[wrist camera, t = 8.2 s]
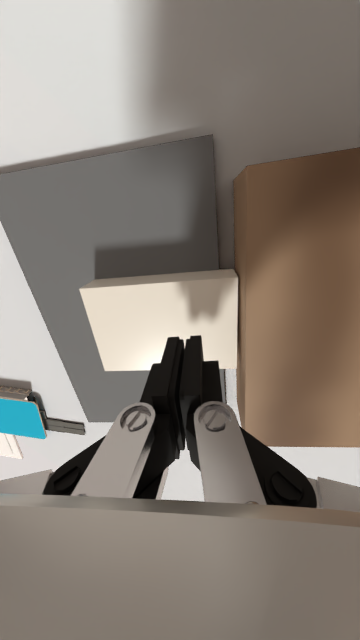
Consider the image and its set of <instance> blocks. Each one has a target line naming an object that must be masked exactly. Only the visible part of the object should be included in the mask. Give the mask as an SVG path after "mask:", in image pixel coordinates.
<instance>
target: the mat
mask: <svg viewBox="0 0 360 640" xmlns="http://www.w3.org/2000/svg"><path fill="white" fill-rule="evenodd" d="M0 221H1V223H2V226H3V228H4V230H5V232H6V235H7V237H8V239H9V242H10V244H11V246H12V248H13V251H14V253H15V255H16V258H17V260H18V262H19V264H20V267H21V269H22V271H23V273H24V276H25V278H26V280H27V283H28V285H29V287H30V289H31V292H32V294H33V296H34V299H35V301H36V303H37V305H38V308H39V310H40V312H41V315H42V317H43V319H44V321H45V324H46V326H47V328H48V331H49V333H50V335H51V337H52V340H53V342H54V344H55V347H56V349H57V351H58V353H59V356H60V358H61V360H62V363H63V365H64V367H65V369H66V372H67V374H68V376H69V379H70V381H71V383H72V385H73V388H74V390H75V392H76V395H77V397H78V399H79V401H80V404H81V406H82V408H83V411H84V413H85V415H86V417H87V420H88V422H114V421H115V420H116V418H117V416H118V415H119V414H120V412H121V411H122V410H123V409H124V408H126V407H127V406H129V405H131V404H134V403H139V402H140V399H141V396H142V393H143V390H144V387H145V384H146V381H147V378H148V375H149V372H150V370H138V371H105V370H104V367H103V363H102V360H101V357H100V354H99V351H98V347H97V344H96V341H95V338H94V335H93V332H92V328H91V325H90V322H89V319H88V316H87V312H86V309H85V306H84V303H83V300H82V296H81V293H80V290H79V289H80V288H81V287H83V286H85V285H86V284H88V283H90V282H91V281H93V280H95V279H108V278H121V277H134V276H146V275H159V274H172V273H185V272H198V271H211V270H219V259H218V238H217V217H216V196H215V175H214V153H213V134H212V135H207V136H201V137H196V138H191V139H185V140H180V141H175V142H169V143H164V144H159V145H153V146H148V147H143V148H137V149H132V150H127V151H121V152H116V153H111V154H105V155H100V156H95V157H89V158H84V159H79V160H73V161H68V162H63V163H57V164H52V165H47V166H41V167H36V168H31V169H25V170H20V171H15V172H9V173H4V174H0ZM219 370H220V380H221V389H222V399H223V403H225V387H224V369H219Z"/></svg>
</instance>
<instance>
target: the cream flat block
mask: <svg viewBox="0 0 360 640" xmlns="http://www.w3.org/2000/svg"><path fill="white" fill-rule="evenodd" d="M79 290H80V293H81V296H82V300H83V303H84V306H85V309H86V312H87V316H88V319H89V322H90V325H91V328H92V332H93V335H94V338H95V341H96V344H97V347H98V351H99V354H100V357H101V360H102V363H103V367H104V370H105V371H138V370H150V369H151V366H152V364H153V363H161V360H162V356H163V353H164V349H165V346H166V342H167V338H168V337H179V338H180V339H183V340H184V347H185V344H186V339H190V336H196V335H201V337H202V347H203V358H204V361H219V369H237V316H238V276H237V274H236V273H235V271H234V269H223V270H211V271H198V272H185V273H172V274H159V275H146V276H134V277H121V278H108V279H95V280H93V281H91V282H90V283H88V284H86V285H85V286H83V287H81V288H80V289H79Z"/></svg>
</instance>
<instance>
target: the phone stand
mask: <svg viewBox="0 0 360 640" xmlns="http://www.w3.org/2000/svg"><path fill="white" fill-rule="evenodd" d="M31 391H32V390H30V389H29V390H25V389H21V388H20V389H18V388H12V387H3V386H0V456H7V457H13V458H19V459H23V455H22V452H21V450H20V447H19V444H18V442H17V439H16V437H15V435H18V436H25V437H32V438H38V439H45V438H46V437H47V435H46V431H45V430H51V431H57V432H67V433H73V434H80V435H85V433H84V427H83V425H80V424H73V423H66V422H63V421H60V420H53V419H47V417H46V414H45V411H44V410H39V408H38V404H37V401H36V398H35V397H33V401H34V402H32V401H28V400H27V396H29V395H28V394H29V393H30V392H31ZM64 427H68V428H64ZM70 428H75V429H70ZM77 429H82V430H77Z"/></svg>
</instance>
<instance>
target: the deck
mask: <svg viewBox="0 0 360 640" xmlns="http://www.w3.org/2000/svg"><path fill="white" fill-rule="evenodd" d="M233 186H234V249H235V273H236V274H237V276H238V316H237V369H236V376H237V404H238V410H239V415H240V421H241V426H242V428H243V429H244V430H245V431H247V432H248V433H249V434H251V435H252V436H254V437H255V438H256V439H258V440H259V441H260V442H262V443H263V444H264V445H266V446H274V447H360V147H359V148H353V149H347V150H341V151H335V152H328V153H322V154H316V155H310V156H304V157H298V158H292V159H286V160H280V161H274V162H267V163H261V164H255V165H249V166H246V168H245V169H244V170H243V171H242V172H241V173H240V174H239V175H238V176H237V177H236V178H235V179H234V180H233Z"/></svg>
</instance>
